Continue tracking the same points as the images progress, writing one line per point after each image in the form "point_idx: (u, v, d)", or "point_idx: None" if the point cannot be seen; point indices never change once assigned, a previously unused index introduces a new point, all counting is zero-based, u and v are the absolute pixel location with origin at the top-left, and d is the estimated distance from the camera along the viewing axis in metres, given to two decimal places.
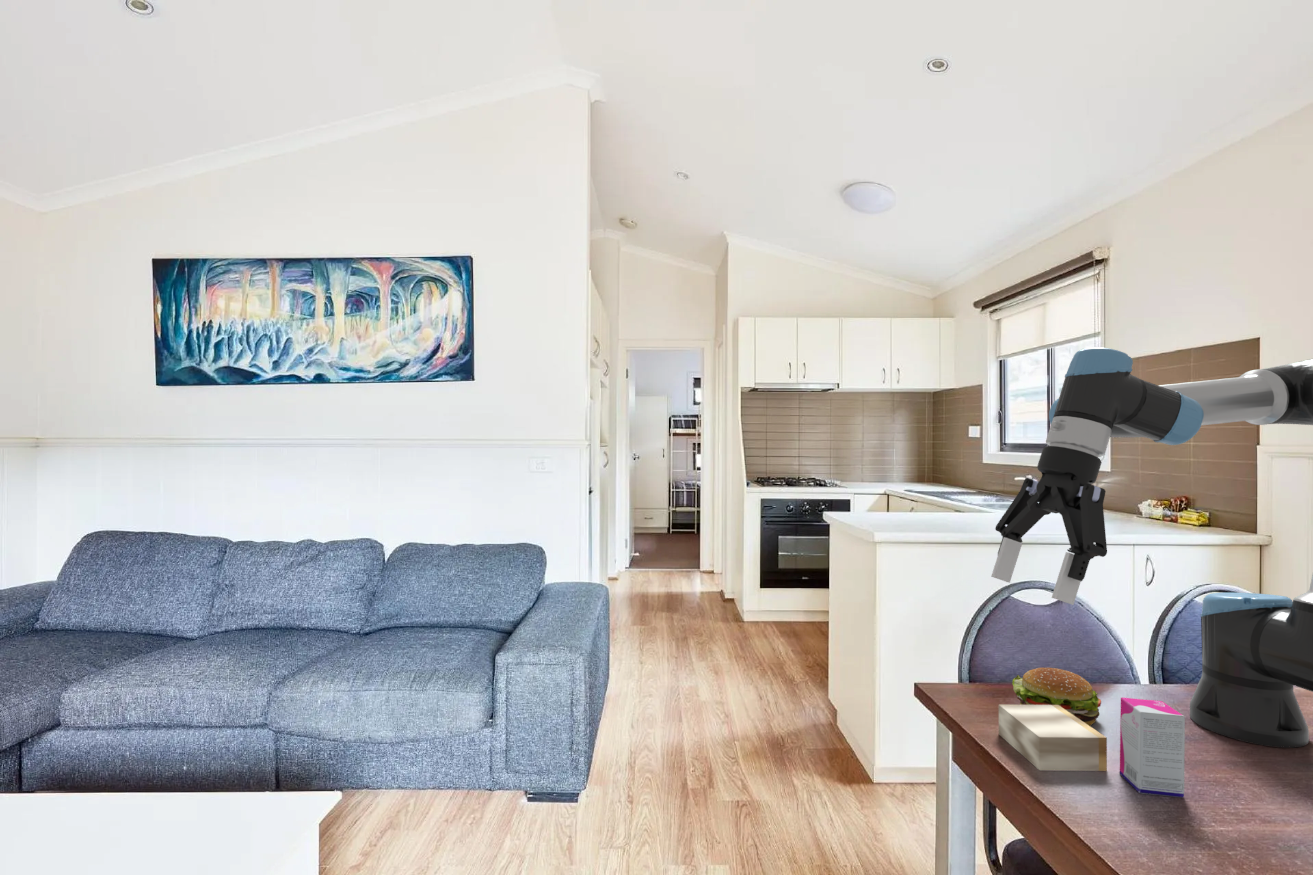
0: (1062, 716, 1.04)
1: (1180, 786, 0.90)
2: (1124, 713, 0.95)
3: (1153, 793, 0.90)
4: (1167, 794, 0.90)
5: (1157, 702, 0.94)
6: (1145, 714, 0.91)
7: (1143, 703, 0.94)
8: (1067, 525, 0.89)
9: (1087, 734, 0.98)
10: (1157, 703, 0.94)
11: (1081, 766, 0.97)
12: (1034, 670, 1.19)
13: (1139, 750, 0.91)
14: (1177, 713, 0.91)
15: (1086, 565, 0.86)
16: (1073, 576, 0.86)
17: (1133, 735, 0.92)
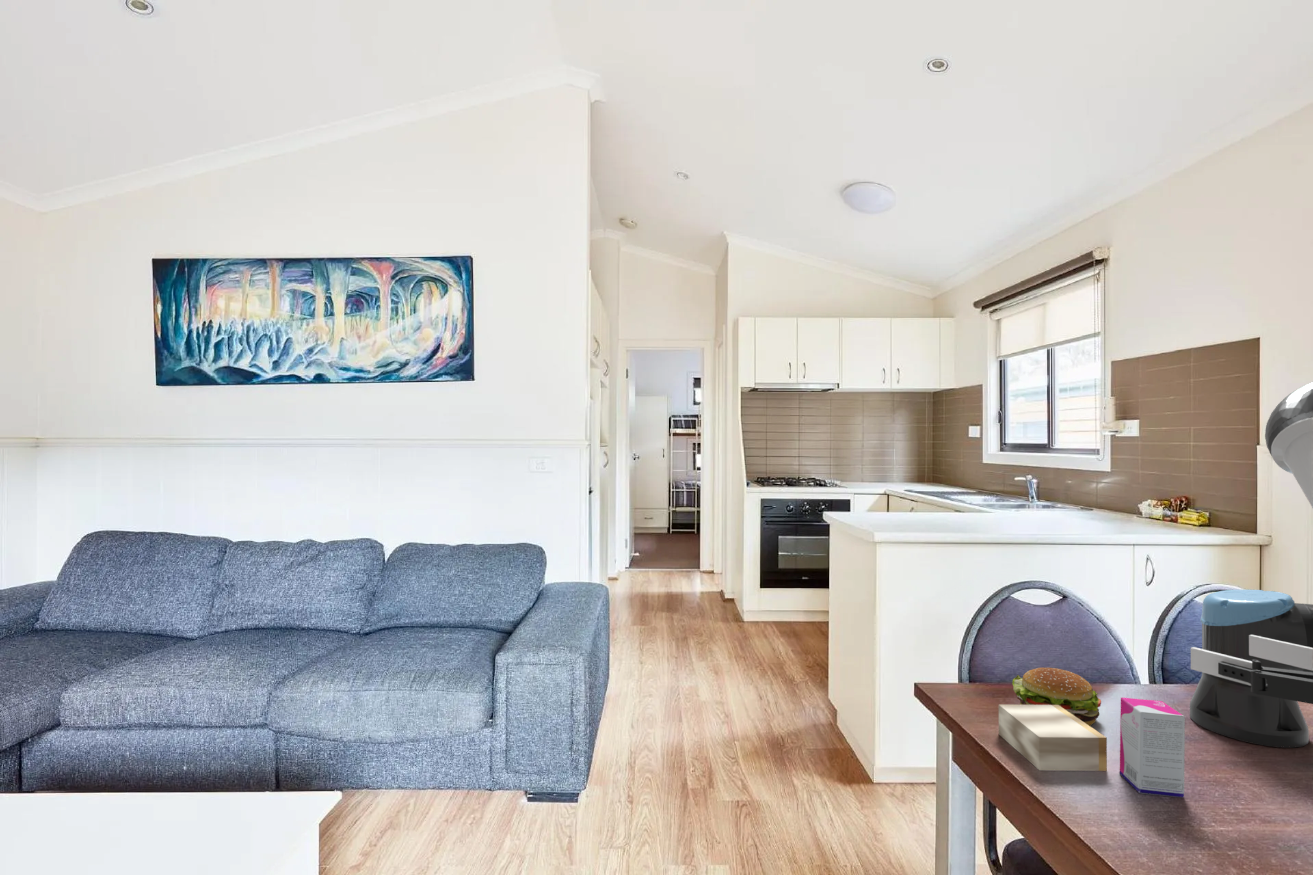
0: (1062, 716, 1.04)
1: (1180, 786, 0.90)
2: (1124, 713, 0.95)
3: (1153, 793, 0.90)
4: (1167, 794, 0.90)
5: (1157, 702, 0.94)
6: (1144, 714, 0.91)
7: (1143, 703, 0.94)
8: None
9: (1087, 734, 0.98)
10: (1157, 703, 0.94)
11: (1081, 766, 0.97)
12: (1034, 670, 1.19)
13: (1139, 750, 0.91)
14: (1177, 713, 0.91)
15: None
16: None
17: (1133, 735, 0.92)
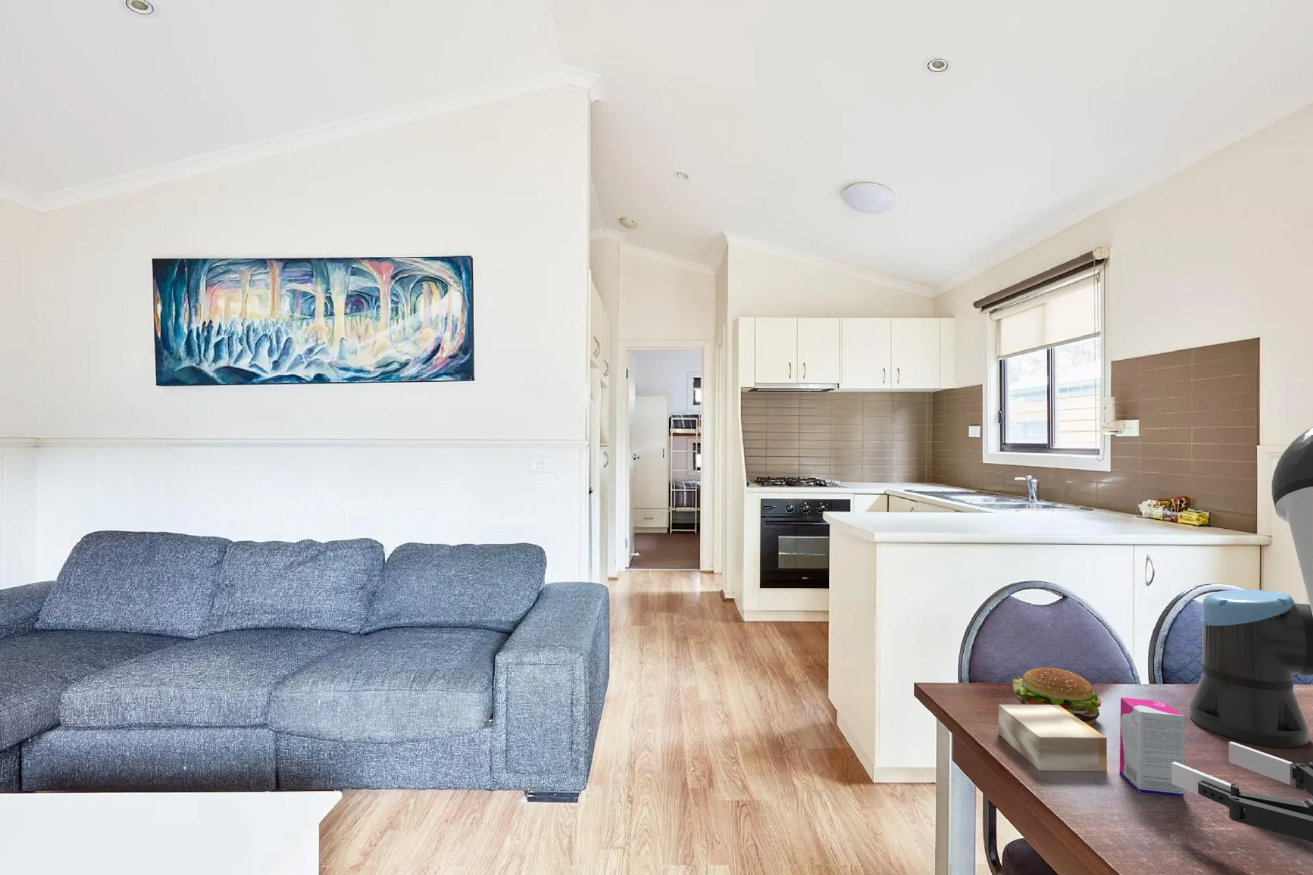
0: (1062, 716, 1.04)
1: None
2: (1124, 713, 0.95)
3: (1153, 793, 0.90)
4: (1167, 794, 0.90)
5: (1157, 702, 0.94)
6: (1144, 714, 0.91)
7: (1143, 703, 0.94)
8: None
9: (1087, 734, 0.98)
10: (1157, 703, 0.94)
11: (1081, 766, 0.97)
12: (1034, 670, 1.19)
13: (1139, 750, 0.91)
14: (1177, 713, 0.91)
15: None
16: None
17: (1133, 735, 0.92)
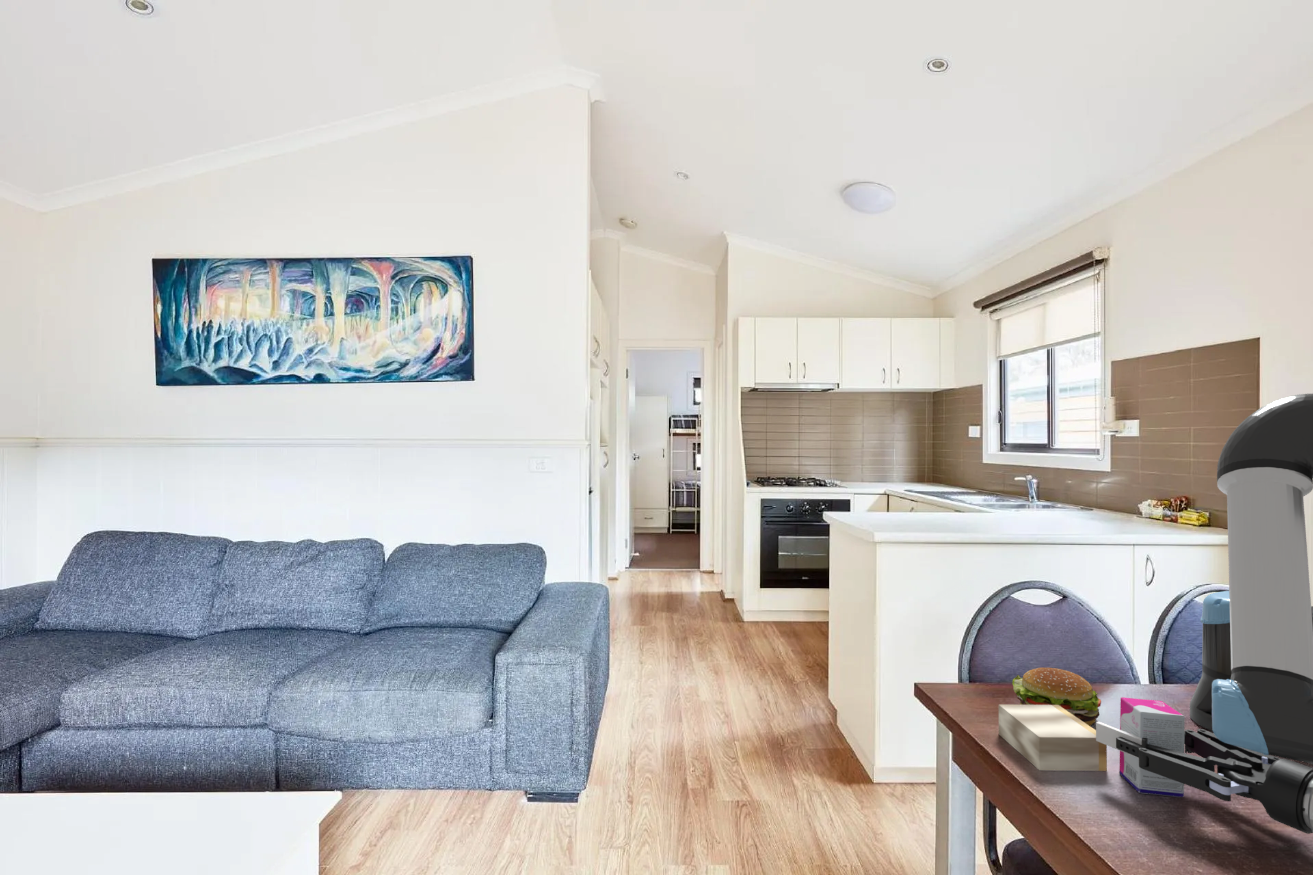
0: (1062, 716, 1.04)
1: (1180, 786, 0.90)
2: (1124, 713, 0.95)
3: (1153, 793, 0.90)
4: (1167, 794, 0.90)
5: (1157, 702, 0.94)
6: (1144, 714, 0.91)
7: (1142, 703, 0.94)
8: None
9: (1087, 734, 0.98)
10: (1157, 703, 0.94)
11: (1081, 766, 0.97)
12: (1034, 670, 1.19)
13: None
14: (1177, 713, 0.91)
15: None
16: None
17: None
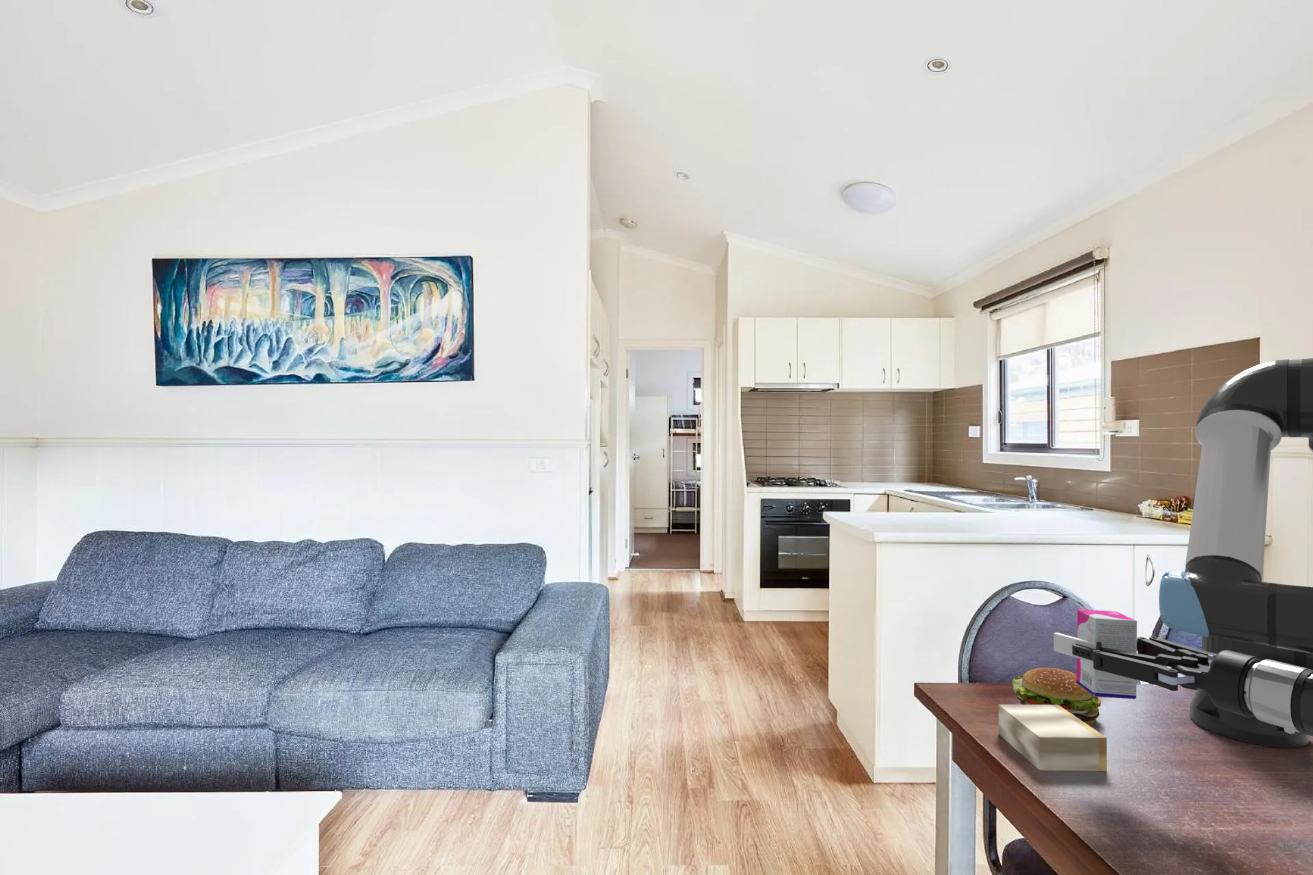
0: (1062, 716, 1.04)
1: (1133, 688, 0.93)
2: (1080, 623, 0.98)
3: (1107, 696, 0.94)
4: (1120, 696, 0.93)
5: (1111, 612, 0.98)
6: (1099, 620, 0.94)
7: (1098, 612, 0.97)
8: None
9: (1087, 734, 0.98)
10: (1112, 612, 0.97)
11: (1081, 766, 0.97)
12: (1034, 670, 1.19)
13: None
14: (1130, 619, 0.94)
15: None
16: None
17: None
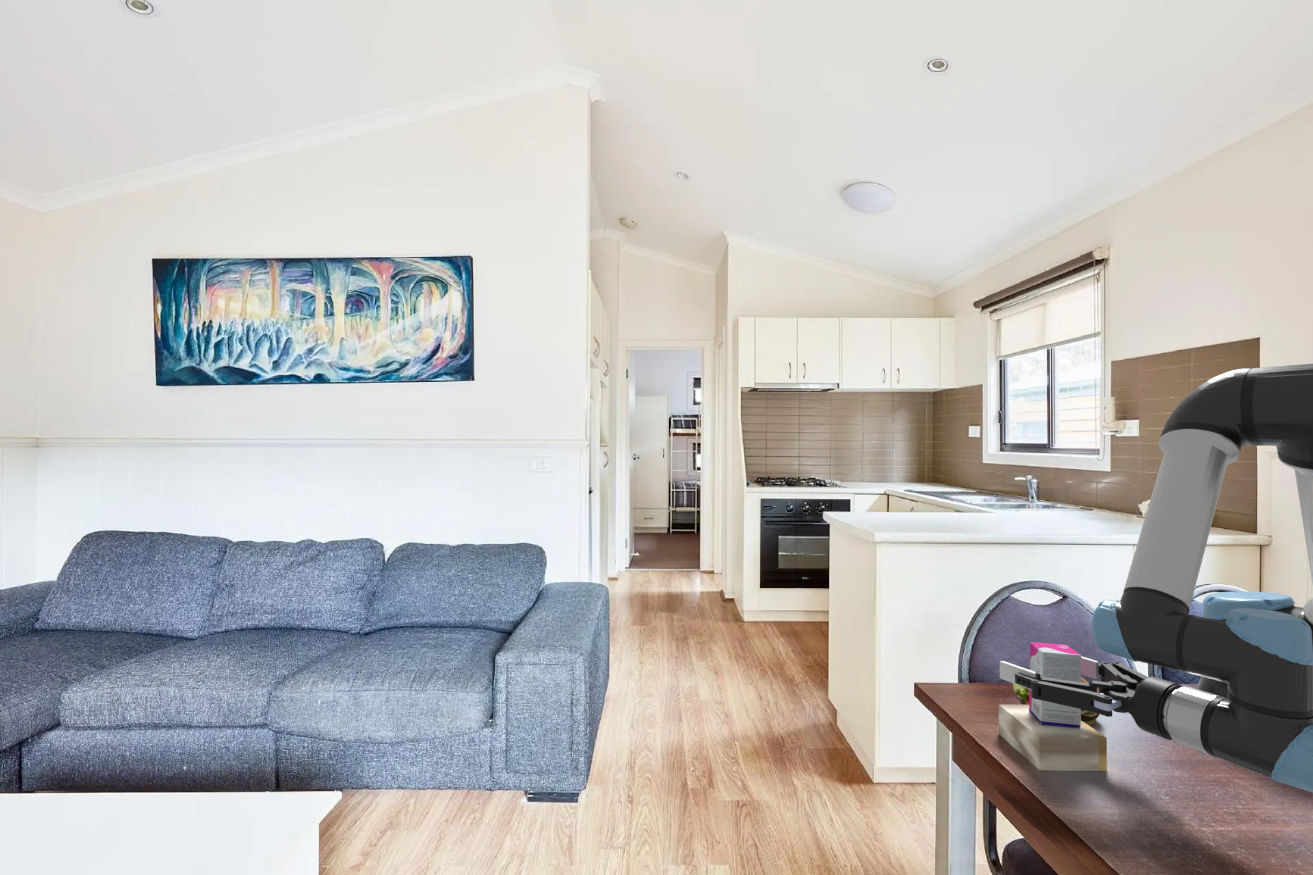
0: None
1: (1077, 718, 1.00)
2: (1032, 655, 1.05)
3: (1053, 725, 1.01)
4: (1065, 725, 1.00)
5: (1062, 645, 1.05)
6: (1046, 654, 1.01)
7: (1048, 646, 1.04)
8: None
9: (1087, 734, 0.98)
10: (1061, 646, 1.04)
11: (1081, 766, 0.97)
12: None
13: None
14: (1075, 653, 1.01)
15: None
16: None
17: None
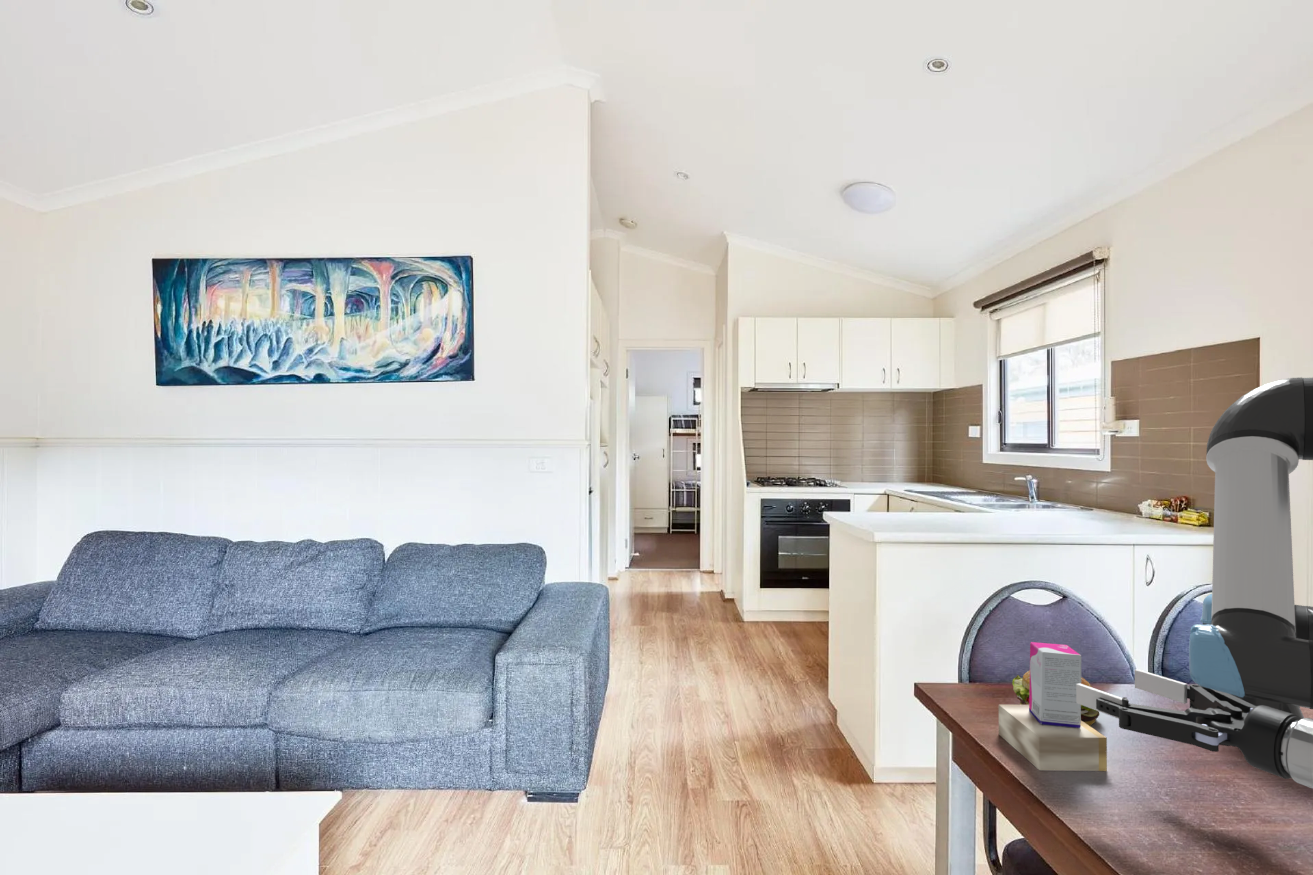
0: None
1: (1077, 718, 1.00)
2: (1032, 655, 1.05)
3: (1053, 725, 1.01)
4: (1065, 725, 1.00)
5: (1062, 645, 1.05)
6: (1046, 654, 1.01)
7: (1048, 646, 1.04)
8: None
9: (1087, 734, 0.98)
10: (1061, 646, 1.04)
11: (1081, 766, 0.97)
12: None
13: (1041, 686, 1.01)
14: (1075, 653, 1.01)
15: None
16: None
17: (1038, 674, 1.03)
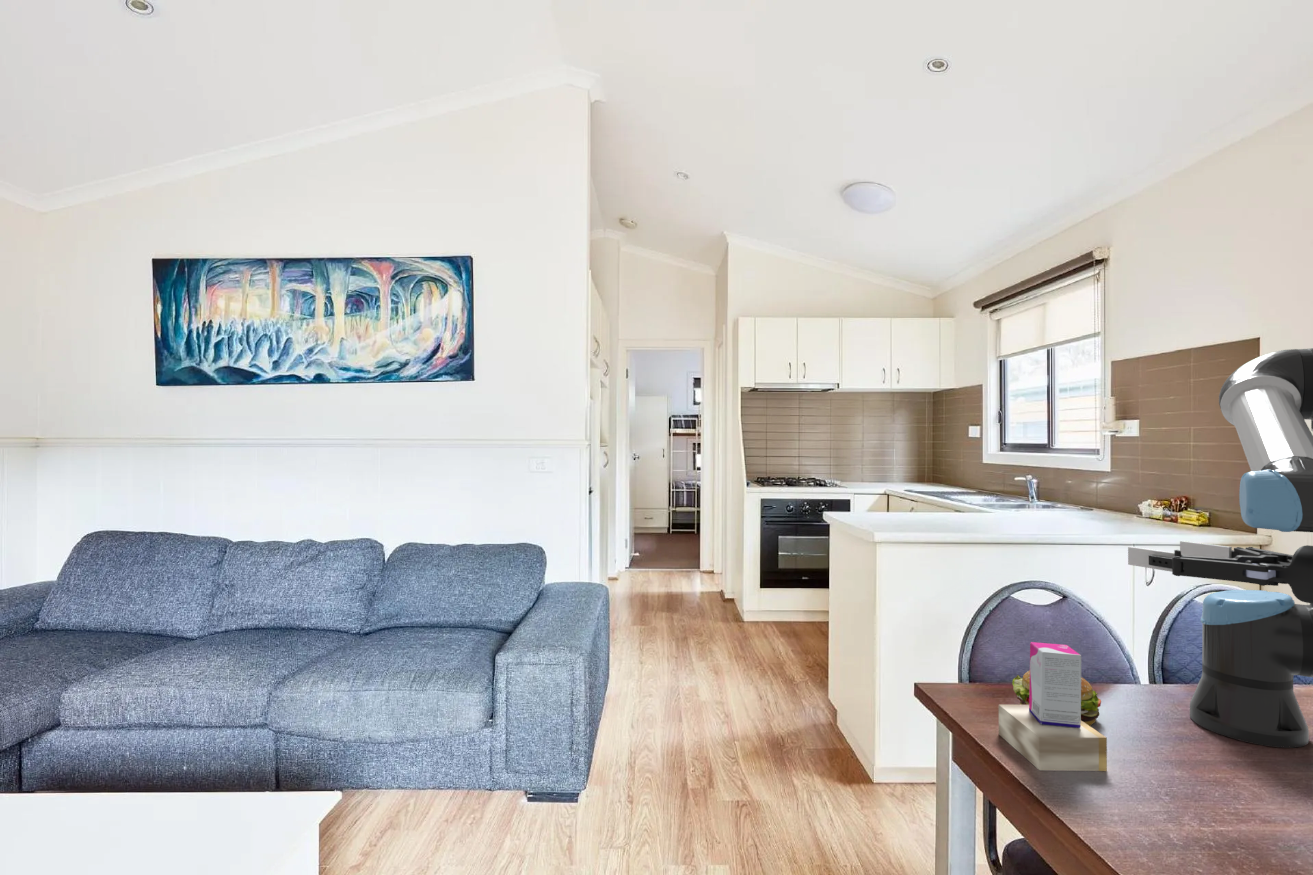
0: None
1: (1077, 718, 1.00)
2: (1032, 655, 1.05)
3: (1053, 725, 1.01)
4: (1065, 725, 1.00)
5: (1062, 645, 1.05)
6: (1046, 654, 1.01)
7: (1048, 646, 1.04)
8: None
9: (1087, 734, 0.98)
10: (1061, 646, 1.04)
11: (1081, 766, 0.97)
12: None
13: (1041, 686, 1.01)
14: (1075, 653, 1.01)
15: None
16: None
17: (1038, 674, 1.03)
